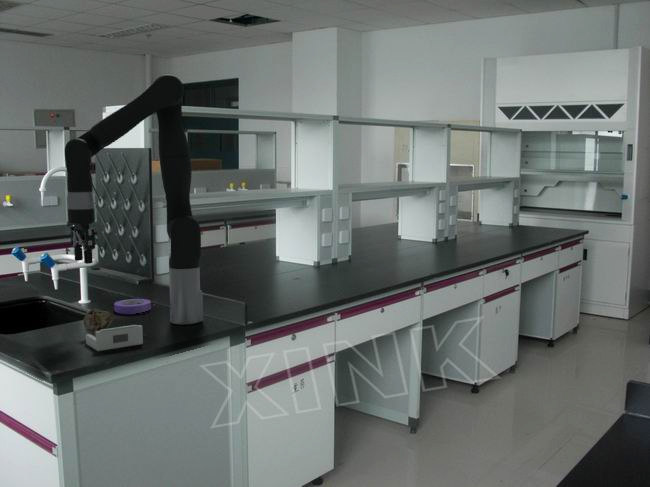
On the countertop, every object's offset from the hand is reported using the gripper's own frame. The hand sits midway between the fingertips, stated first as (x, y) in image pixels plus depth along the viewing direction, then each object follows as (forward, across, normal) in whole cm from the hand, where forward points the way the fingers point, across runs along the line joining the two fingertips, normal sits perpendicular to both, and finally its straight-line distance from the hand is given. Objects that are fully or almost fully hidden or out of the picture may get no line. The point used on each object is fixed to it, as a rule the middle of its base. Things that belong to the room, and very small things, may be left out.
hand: (83, 261), depth 200 cm
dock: (+20, -22, 0) cm, 30 cm away
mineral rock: (+20, -10, 0) cm, 23 cm away
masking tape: (+21, +12, -20) cm, 31 cm away
